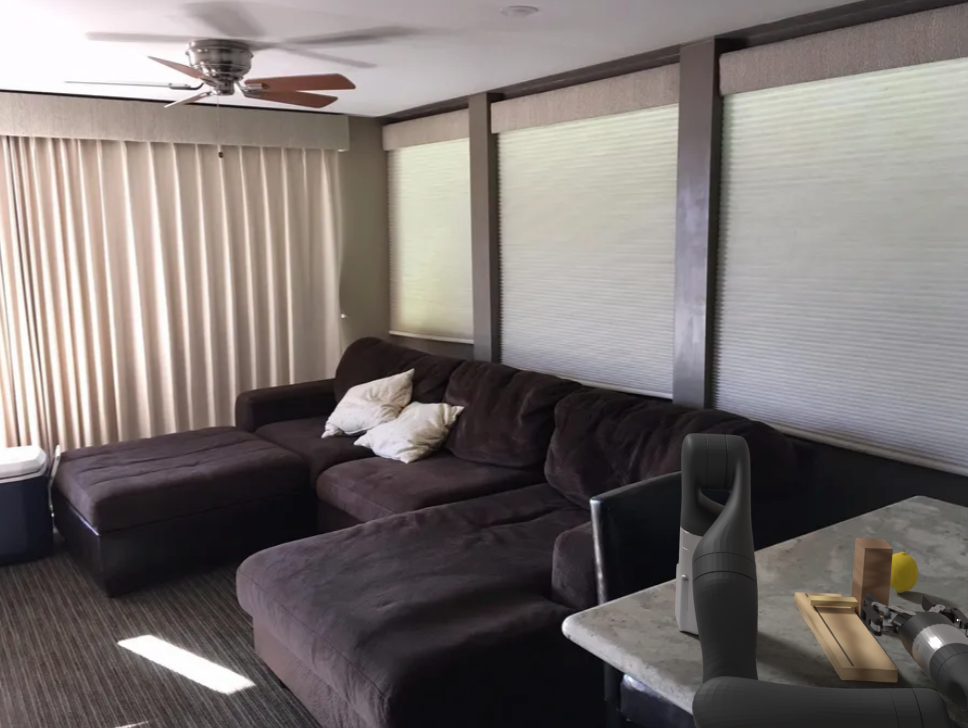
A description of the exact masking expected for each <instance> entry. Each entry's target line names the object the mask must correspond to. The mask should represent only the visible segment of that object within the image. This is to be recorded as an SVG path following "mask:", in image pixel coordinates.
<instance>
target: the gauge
mask: <svg viewBox="0 0 968 728" xmlns="http://www.w3.org/2000/svg"><path fill="white" fill-rule="evenodd" d="M854 541H855V542H854V543H855V544H854V556H853V557H854V559H853V568H852V569H853V570H852V571H853V572H852V581H851V582H852V584H851V596H843V597H835V596H809V595H808V602H809V604H810V605H811V606H836V607H851V608H852V609H853V611H854V612H855V613H856V615H857V616H858V617H859V619H860V612H861V604H862V603H864V596H866V594H867V593H872V594H873V595H874V596H875V598H876V599H877V600H878V601H879V602H880V604H883V605H885V606H889V605H890V604H889V603H890V593H891V592H890V590H891V586H890V580H891V568H892V555H893V552H894V548H893V547H892V546H891V545H890V544H889V543H887V541H886V540H885V539H884V538H866V537H865V538H863V537H856V538H855V540H854ZM880 616H883V617H884V612H883V611H881V610H880ZM862 623H863V622H862ZM863 624H864V623H863ZM864 625H865V624H864ZM865 627H866V625H865ZM866 628H867V627H866Z"/></svg>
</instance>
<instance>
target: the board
mask: <svg viewBox="0 0 968 728" xmlns="http://www.w3.org/2000/svg"><path fill="white" fill-rule="evenodd" d="M808 595H809V596H835V597H844V596H843V594H841V593H828V592H827V593H826V592H825V593H821V592H798V591H797V592H794V604H795V606H796V608H797V610H798V611H799V612H800V615H801V616H802V618H803V619H804V621H805V623H806V624H807V626H808V627H809V629H810V631H811V632H812V634H813V636H814V637H815V639H816V641H817V642H818V644H819V646H820V647H821V649H822V651H823V652H824V654H825V657H827V659H828V661H829V662H830V664H831V665H832V667H833V668H834V670H835V673H836V674H837V675H838V677H839V678H840V680H841V681H855V682H856V681H857V682H858V681H859V682H876V683H877V682H880V683H898V675H899V669H898V668H897V666H896V665H895V664H894V662H893V661H892V660H891V659H890V657H889V656H888V655H887V654H886V652H885V651H884V649H883V648H882V646H881V645H880V644H879V643H878V642H877V640H876V638H875V637H874V636H873V634H872V632H871V631H870V630H869V629H868V628H867V627H865V625H864V624H863V623H862V621H861V620H860V619H859V617H858V616H857V615H856V613H855V612H854V611H853V609H852V608H851V607H836V606H811V605H810V604H809V602H808Z"/></svg>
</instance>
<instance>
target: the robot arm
mask: <svg viewBox="0 0 968 728" xmlns="http://www.w3.org/2000/svg"><path fill="white" fill-rule="evenodd" d="M747 442H748V441H747V440H746V439H745V438H744V437H742V436H740V435H736V434H735V435H734V434H722V433H721V434H720V433H719V434H717V433H699V432H698V433H688V434H687V435H685V437H684V439H683V441H682V445H681V453H680V456H681V457H680V459H681V460H680V461H681V465H680V467H681V469H680V470H681V472H680V473H681V506H680V507H681V510H680V522H679V523H680V527H679V528H680V529H679V530H680V531H679V552H678V557H679V558H678V563H677V564H676V571H675V572H676V573H675V575H676V577H675V600H674V603H675V604H674V617H675V619H676V620H675V621H676V624H677V627H678V630H679V631H680V632H687V633H690V634H694V635H697V636H698V638H699V643H700V649H701V658H702V682H701V683H702V684H701V685H700V686H699V687H698V688H697V690H696V692H695V694H693V695H694V696H693V700H692V704H691V711H692V717H693V718H692V719H693V721H694V726H695V728H968V722H963V721H959V720H956V719H954V718H952V717H951V716H950V714H949V710H948V707H947V704H946V703H945V700H944V698H943V697H942V695H941V694H940V693H939V692H938V691H936V690H935V689H932V688H925V687H923V688H922V687H912V688H910V687H906V688H904V687H903V688H899V687H898V688H894V687H892V688H891V687H890V688H840V687H839V688H837V687H822V686H821V687H820V686H810V685H809V686H808V685H799V684H790V683H781V682H773V681H766V680H760V679H759V677H758V667H757V666H758V665H757V647H758V628H759V624H758V623H759V589H758V587H759V586H758V579H757V578H758V576H757V564H756V555H755V547H754V538H753V537H754V536H753V527H752V507H751V502H752V501H751V492H752V491H751V455H750V448H749V446H748V443H747ZM702 490H704V491H705V490H706V491H721V492H723V491H724V492H728V493H729V495H728V498H727V501H726V502H725V505H723V504H720V503H718V502H715V501H714V500H712V499H710V498H709V497H707V496H706V495H705V494H703V493H702ZM921 599H922V600H921V608H922V609H923V611H920V610H919V611H913V610H912V611H911V610H905V609H903V608H901V607H898V606H895V605H892V604H889V605H888V606H885V605H883V604H880V602H879V601H878V600H877V599H876V598H875V596H874V595H873V594H872V593H867V594H866V596H864V603H862V604H861V612H860V620H861V621H862V622H863V623H864V624H865V625H866V628H867V629H868V631H869V632H870V633H871V634H872V635H874V636H875V637H882V636H883V632H891V633H892V634H893V635H895V636H897V637H898V638H899V639H900V641H901V643H902V645H903V648H904V649H905V651H906V652H907V653H908V655H910V656H911V658H912V659H913V661H914V662H915V663H916V665H917V666H918V667H919V668H920V670H922V672H923V673H924V674H925V675H926V676H927V677H928V678H929V679H930V680H931V681H933V682H934V684H935V685H936V686H937V687H938V688H939V689H940V691H941V692H942V693H943V695H945V697H946V698H947V699H948V700H949V701H950V702H951V703H952V704H954V705H955V706H956V707H958V708H959V709H962V710H965V711H967V712H968V617H967V616H966V615H965V614H964V613H963V612H962V610H961V609H960V608H959V607H956V606H955V607H954V606H951V607H949V608H946V607H945V605H943V604H939V603H938V602H937V601H936V599H933V598H931V596H929V595H925V594H924V595H922V598H921ZM880 610H881V611H883V612H884V617H883V616H880ZM894 614H896V615H895V616H894Z"/></svg>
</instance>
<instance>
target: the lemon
mask: <svg viewBox="0 0 968 728" xmlns="http://www.w3.org/2000/svg"><path fill="white" fill-rule="evenodd" d="M918 580H919V568H918V564H917V561H916V560H915V559H914V558H913V556H911V555H909V554H908V553H906V552H905V551H900V552H896V553H894V554H893V555H892V568H891V580H890V588H892V589H893V590H895V591H896V592H897V593H898V594H902V593H904V592H907V591H910V590H912V589H914V587H915V586H916V584H917V582H918Z"/></svg>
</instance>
